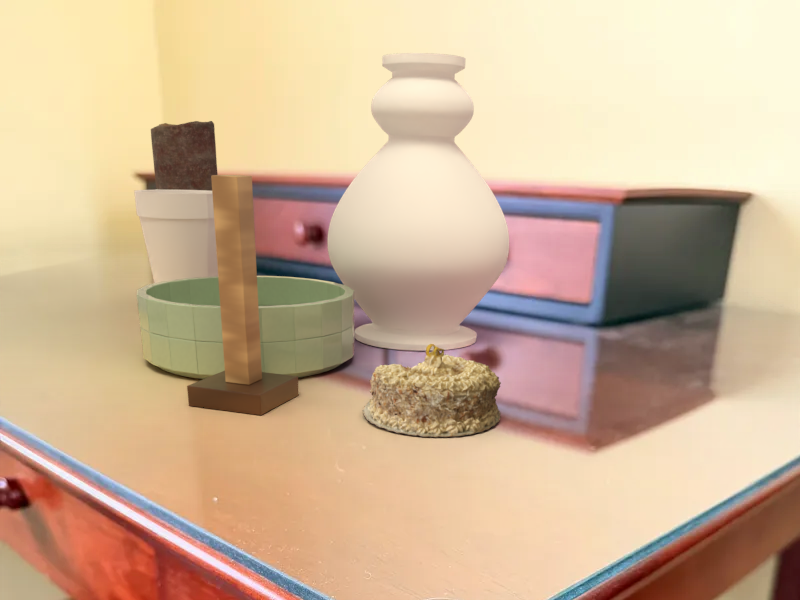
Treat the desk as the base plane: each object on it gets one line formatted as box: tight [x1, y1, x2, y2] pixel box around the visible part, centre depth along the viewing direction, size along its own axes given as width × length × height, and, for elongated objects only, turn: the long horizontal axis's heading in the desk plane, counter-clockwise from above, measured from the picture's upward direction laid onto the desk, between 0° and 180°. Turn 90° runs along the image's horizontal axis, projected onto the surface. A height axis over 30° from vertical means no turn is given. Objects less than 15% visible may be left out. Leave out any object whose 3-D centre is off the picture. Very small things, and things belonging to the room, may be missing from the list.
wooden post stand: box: [186, 174, 299, 416], centre depth 58 cm, size 6×6×16 cm
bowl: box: [136, 275, 355, 380], centre depth 73 cm, size 19×19×6 cm
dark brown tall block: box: [150, 120, 219, 191], centre depth 97 cm, size 8×7×20 cm
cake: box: [362, 344, 502, 438], centre depth 58 cm, size 10×10×5 cm
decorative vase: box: [327, 52, 510, 352], centre depth 79 cm, size 18×18×25 cm
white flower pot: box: [133, 189, 218, 283], centre depth 89 cm, size 10×9×13 cm
